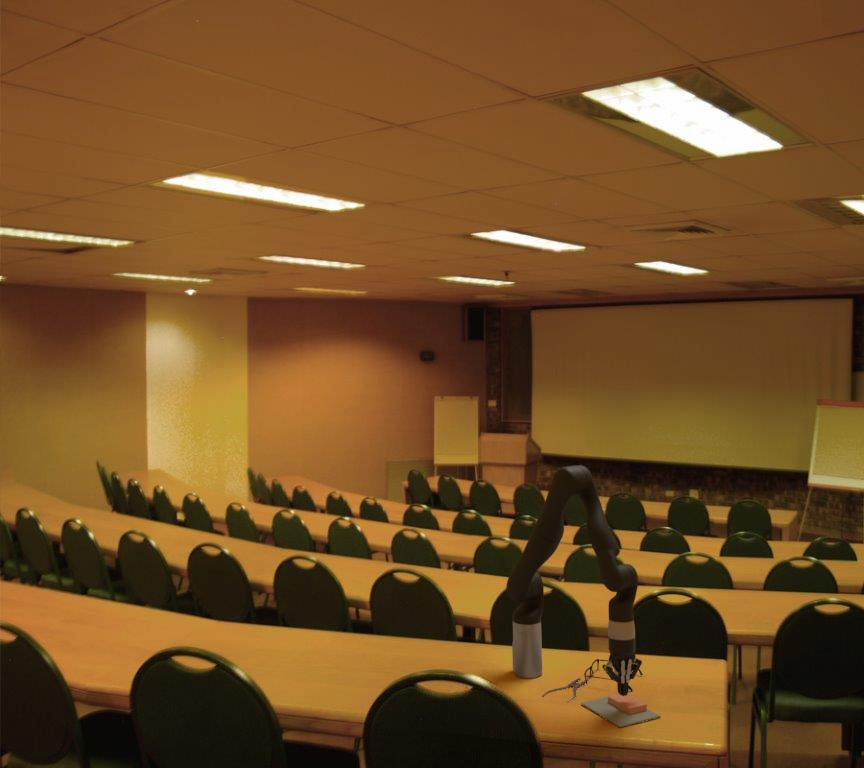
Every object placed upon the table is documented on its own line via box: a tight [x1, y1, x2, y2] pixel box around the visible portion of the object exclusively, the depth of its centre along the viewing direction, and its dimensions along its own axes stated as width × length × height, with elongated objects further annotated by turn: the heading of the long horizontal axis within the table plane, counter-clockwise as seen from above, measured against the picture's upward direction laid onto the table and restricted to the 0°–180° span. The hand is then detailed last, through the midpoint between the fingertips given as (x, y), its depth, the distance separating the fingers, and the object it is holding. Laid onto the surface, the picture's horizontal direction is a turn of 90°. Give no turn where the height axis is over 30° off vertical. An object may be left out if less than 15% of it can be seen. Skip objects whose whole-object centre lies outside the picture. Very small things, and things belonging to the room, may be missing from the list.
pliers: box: [541, 677, 589, 703], centre depth 249 cm, size 10×1×20 cm
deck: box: [607, 693, 648, 715], centre depth 234 cm, size 10×2×6 cm
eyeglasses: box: [583, 658, 644, 692], centre depth 256 cm, size 16×16×4 cm
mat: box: [580, 696, 661, 729], centre depth 232 cm, size 18×14×1 cm
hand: (623, 694), depth 232 cm, fingers closed
